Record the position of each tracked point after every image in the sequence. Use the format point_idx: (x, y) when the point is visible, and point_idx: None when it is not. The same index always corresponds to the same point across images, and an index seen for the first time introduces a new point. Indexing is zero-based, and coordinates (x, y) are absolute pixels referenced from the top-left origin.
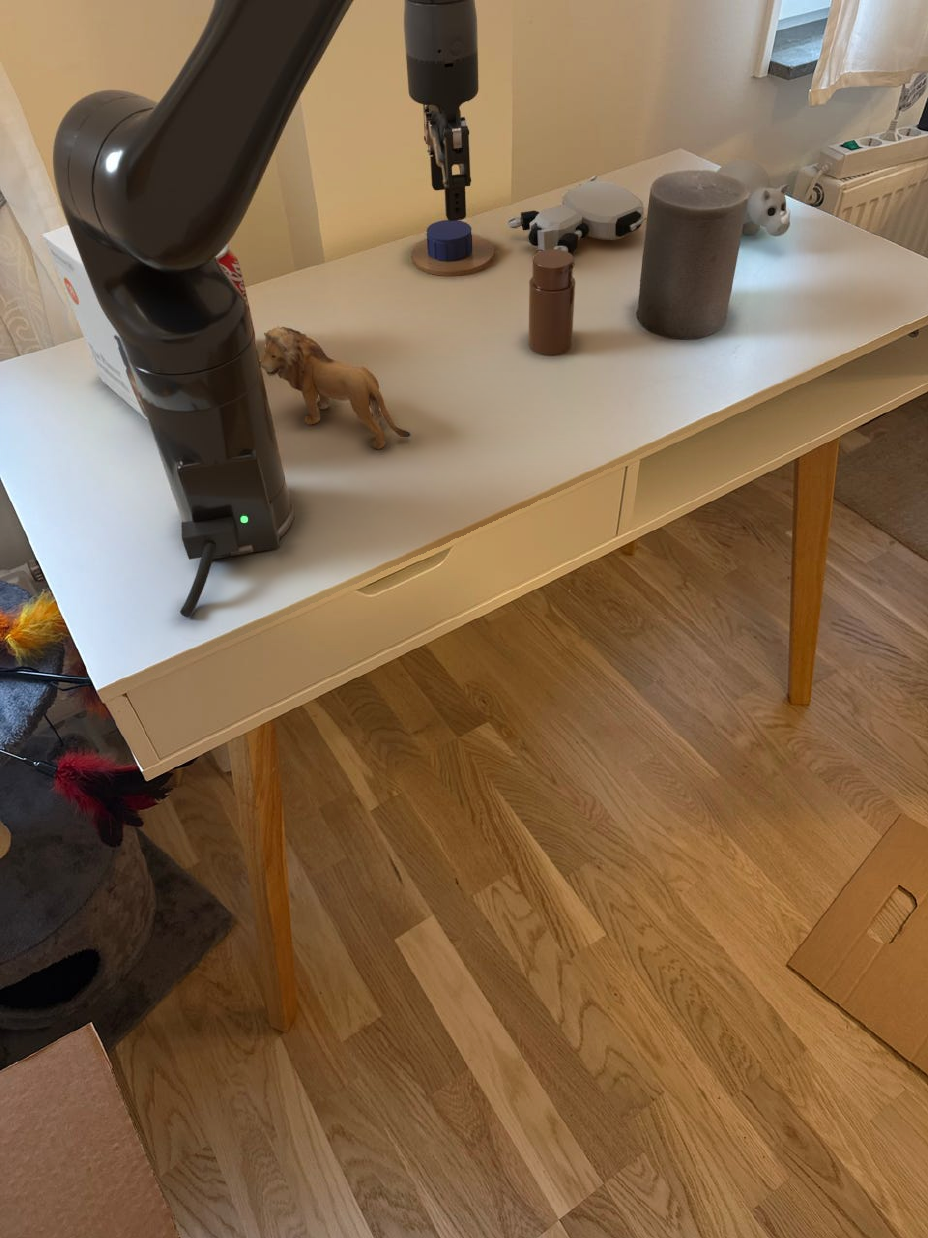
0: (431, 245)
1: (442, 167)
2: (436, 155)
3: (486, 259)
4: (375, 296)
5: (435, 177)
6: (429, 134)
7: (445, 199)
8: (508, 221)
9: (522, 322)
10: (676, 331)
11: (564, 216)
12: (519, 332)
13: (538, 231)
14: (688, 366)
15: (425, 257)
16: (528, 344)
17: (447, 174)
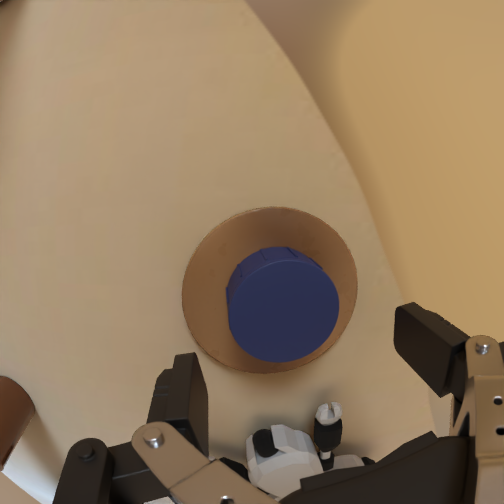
0: (249, 264)
1: (182, 472)
2: (201, 501)
3: (229, 362)
4: (109, 133)
5: (414, 327)
6: (472, 433)
7: (178, 387)
8: (333, 405)
9: (46, 382)
10: None
11: (276, 487)
12: (24, 373)
13: (253, 455)
14: (28, 473)
15: (253, 240)
16: (3, 376)
17: (72, 477)
